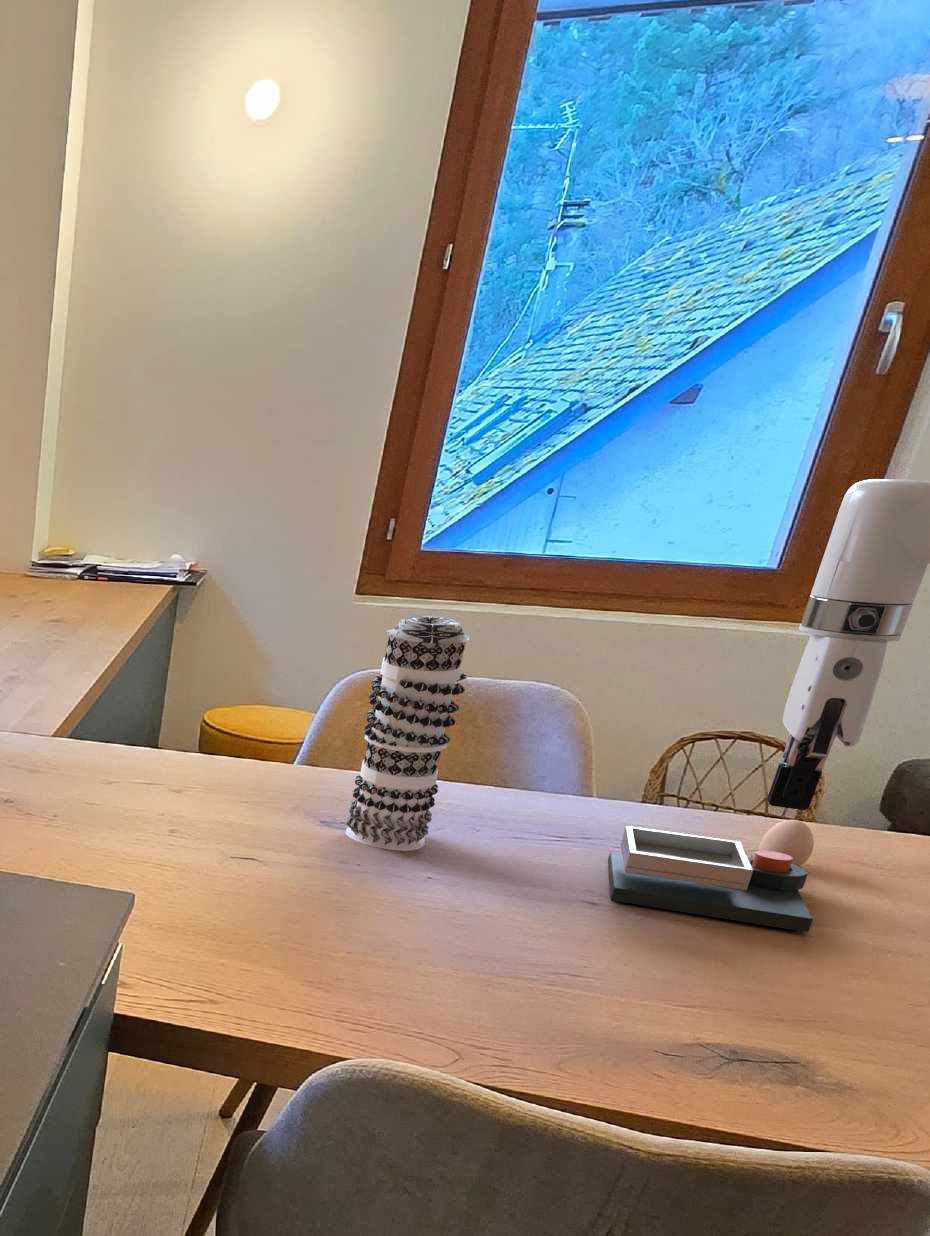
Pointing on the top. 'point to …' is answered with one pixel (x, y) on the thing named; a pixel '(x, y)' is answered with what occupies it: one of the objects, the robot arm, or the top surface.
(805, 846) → the egg
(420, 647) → the decorative candle
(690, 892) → the scale
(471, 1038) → the top surface
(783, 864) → the button
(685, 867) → the pan
